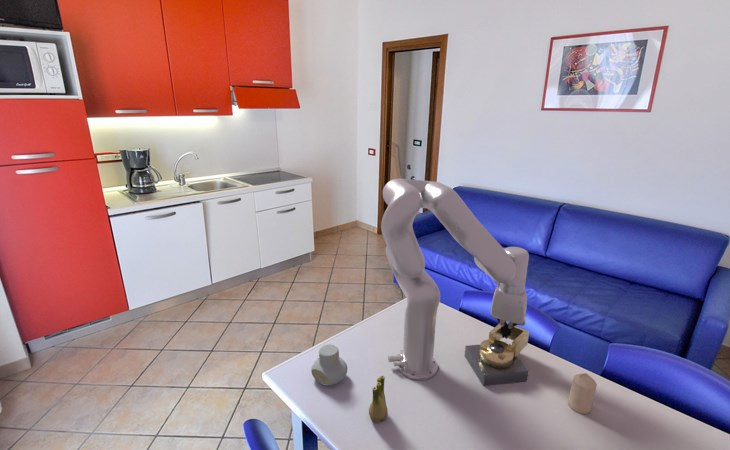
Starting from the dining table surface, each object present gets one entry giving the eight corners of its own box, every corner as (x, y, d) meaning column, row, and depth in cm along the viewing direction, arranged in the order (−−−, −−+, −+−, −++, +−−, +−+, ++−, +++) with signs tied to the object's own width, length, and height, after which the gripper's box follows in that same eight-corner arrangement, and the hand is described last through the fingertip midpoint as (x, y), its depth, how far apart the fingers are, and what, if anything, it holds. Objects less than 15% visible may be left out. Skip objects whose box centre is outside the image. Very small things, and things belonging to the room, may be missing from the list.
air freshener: (307, 377, 112) (305, 349, 109) (325, 363, 119) (324, 336, 116) (334, 393, 106) (333, 364, 103) (352, 377, 112) (351, 349, 109)
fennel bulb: (374, 428, 94) (375, 391, 91) (363, 416, 98) (363, 379, 95) (392, 418, 98) (393, 381, 94) (380, 406, 102) (381, 370, 98)
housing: (483, 386, 109) (484, 374, 108) (464, 355, 122) (465, 345, 121) (526, 381, 111) (528, 370, 110) (503, 352, 124) (505, 341, 123)
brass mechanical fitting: (503, 372, 108) (505, 357, 107) (473, 356, 115) (474, 342, 114) (528, 346, 121) (530, 332, 119) (499, 333, 127) (501, 320, 126)
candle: (569, 396, 105) (575, 367, 102) (591, 404, 102) (598, 375, 99) (566, 408, 101) (572, 378, 98) (589, 417, 98) (596, 387, 95)
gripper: (484, 285, 116) (479, 334, 121) (535, 297, 108) (527, 349, 114) (490, 276, 122) (485, 323, 127) (539, 287, 114) (531, 337, 120)
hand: (505, 336), depth 121 cm, fingers closed
